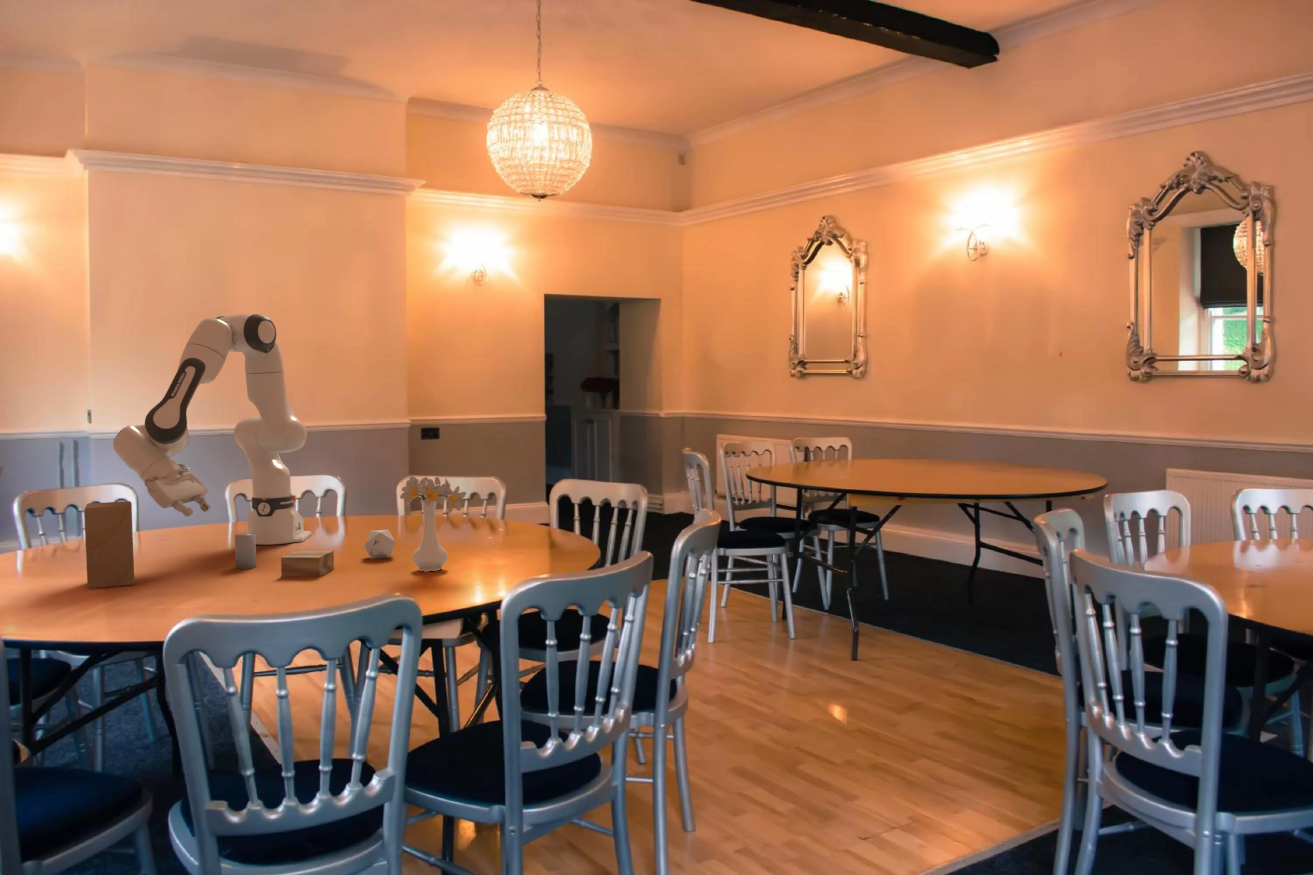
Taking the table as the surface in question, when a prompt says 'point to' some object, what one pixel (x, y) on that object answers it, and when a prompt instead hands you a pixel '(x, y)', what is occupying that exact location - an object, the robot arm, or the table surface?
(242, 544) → the grey square pillar
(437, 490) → the flower vase
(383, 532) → the die
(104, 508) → the wooden block
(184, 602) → the table surface
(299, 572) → the oak block
